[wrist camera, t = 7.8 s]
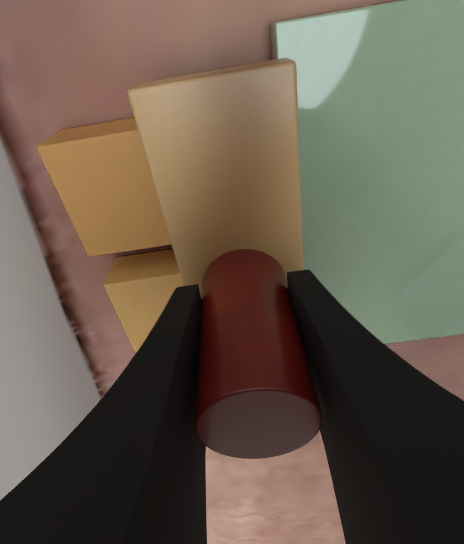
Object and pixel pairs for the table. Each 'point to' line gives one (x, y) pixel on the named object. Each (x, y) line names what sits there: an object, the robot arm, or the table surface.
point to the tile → (383, 161)
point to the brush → (236, 245)
